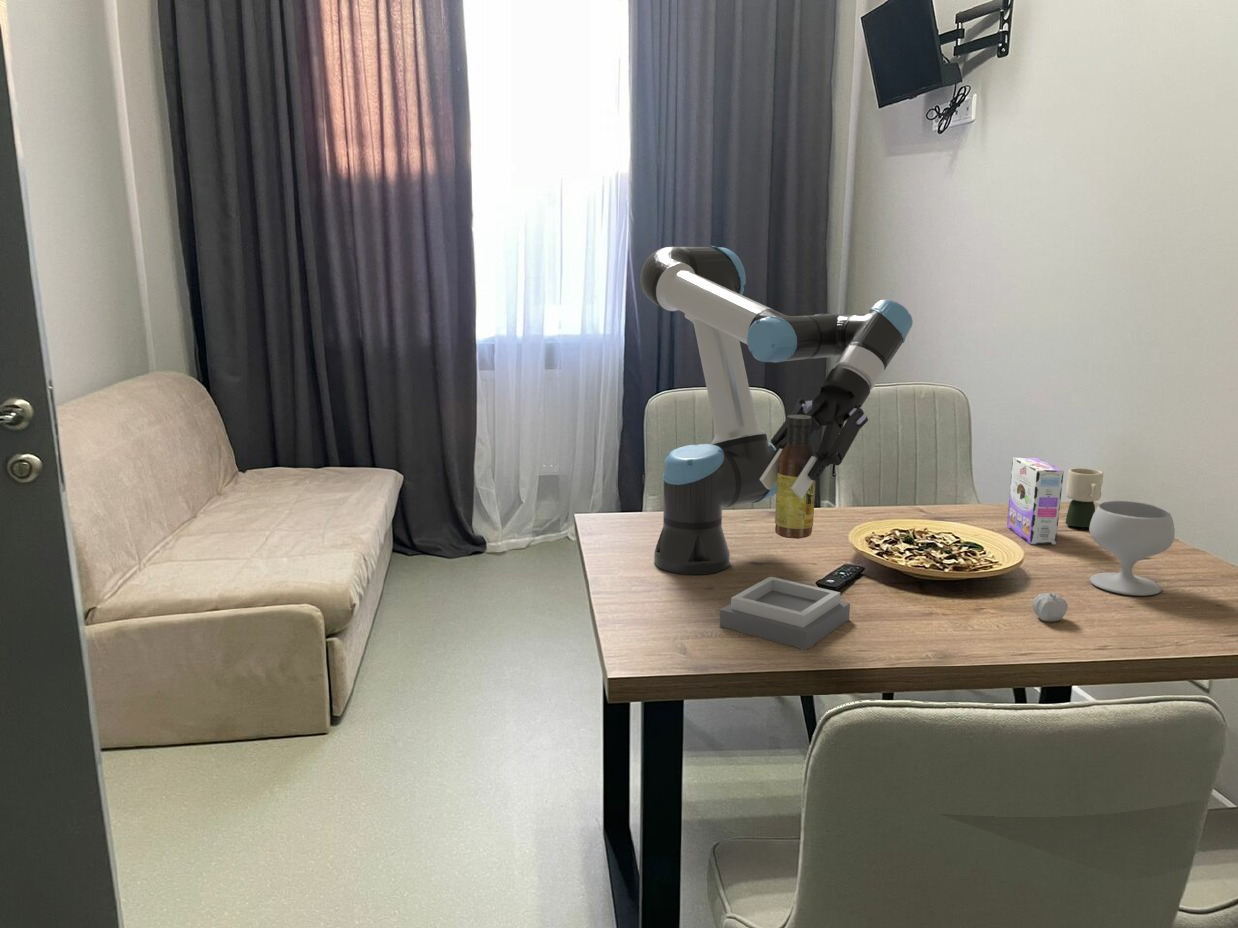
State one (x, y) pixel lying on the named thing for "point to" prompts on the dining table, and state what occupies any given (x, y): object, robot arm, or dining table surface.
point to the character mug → (1082, 495)
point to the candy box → (1035, 500)
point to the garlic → (1049, 606)
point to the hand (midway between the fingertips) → (780, 488)
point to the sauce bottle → (790, 509)
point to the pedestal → (786, 612)
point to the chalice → (1130, 542)
